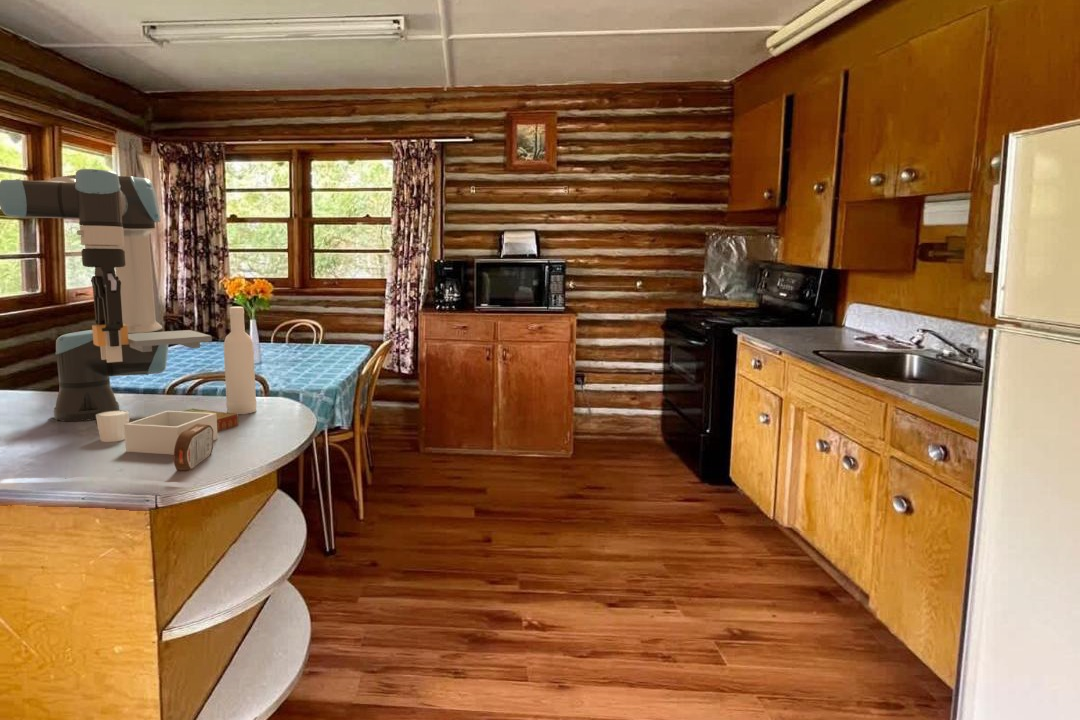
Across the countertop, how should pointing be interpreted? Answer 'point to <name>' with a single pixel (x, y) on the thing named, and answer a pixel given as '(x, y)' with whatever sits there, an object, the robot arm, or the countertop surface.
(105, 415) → the cream cylindrical piece
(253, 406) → the bottle
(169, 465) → the countertop surface
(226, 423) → the carton
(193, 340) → the lid
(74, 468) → the countertop surface
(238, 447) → the countertop surface
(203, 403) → the countertop surface
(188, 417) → the tub
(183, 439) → the tin
